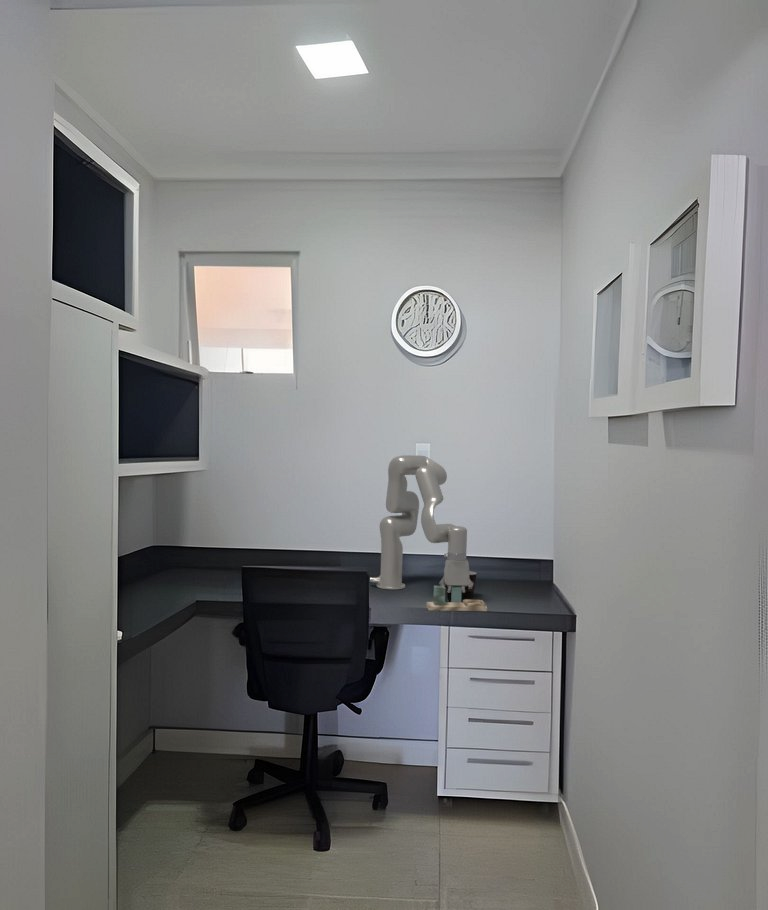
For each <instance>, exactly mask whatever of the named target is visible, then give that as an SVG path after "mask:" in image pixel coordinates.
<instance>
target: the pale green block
mask: <svg viewBox="0 0 768 910" xmlns="http://www.w3.org/2000/svg"><path fill="white" fill-rule="evenodd" d="M461 593H462V587H461V586H451V602H461Z"/></svg>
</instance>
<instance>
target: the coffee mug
mask: <svg viewBox="0 0 768 910" xmlns="http://www.w3.org/2000/svg"><path fill="white" fill-rule="evenodd" d="M469 578H470V580H471V582H472V583H473V586H472V587H470V588H468V589H467V590H466V591H465V593H464V599H472V598H474V594H475V593H474V592H475V587H476V579H477V572H475V571H471V570H469Z"/></svg>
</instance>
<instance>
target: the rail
mask: <svg viewBox="0 0 768 910" xmlns="http://www.w3.org/2000/svg"><path fill="white" fill-rule="evenodd" d="M425 603H426V604H425V605H426V608H427V609H428V611H448V612H449V611H450V612H451V611H454V612H458V611H459V612H460V611H461V612H488V607H487V604H486V603H485V601H484V600H483V599H464V600H463V603H461V602H449V601H448V602H447V589H446V587H444V586H440V585H433V599H432V601H426V602H425Z"/></svg>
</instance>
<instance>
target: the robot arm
mask: <svg viewBox="0 0 768 910" xmlns="http://www.w3.org/2000/svg"><path fill="white" fill-rule="evenodd" d="M387 475H388V481H387V489H386V490H387V491H386V498H385V508H386V511H387V512H388V513H391V514H396V515H388V516H385V517H383V518H382V519H381V521H380V523H379V534H380V540H381V541H380V543H381V544H380V545H381V547H380V549H381V550H380V552H381V553H380V575H379V576H376V577H373V576H372V577H369V582H370V583H371V582H372V583H376V587H377V588H379V589H383V590H402V589H405V588H406V584H405V583H402V582H403V558H404V557H403V556H404V555H403V551H404V549H403V548H404V547H403V543H402V541H401V539H400V537H409V536H411V535H414V533H415V532H416V530H417V526H418V519H419V513H420V512H419V511H420V500H419V497H418V495H417V494H416V493H415V492H414V491H410V490H408V480H407V477H406V476H415V480H416V482H417V487H418V488H419V492H420V496H421V498H422V499H421V500H423V501H422V502H423V508H422V510H421V516H420V523H421V528H422V530H423V534H424V536H425V538H426V539H427V541H428V542H429V543H431V544H441V543H442V544H443V543H447V553H444V554H443V556H444V558H446V559H445V561H444V563H445V564H444V569H443V577H442V578H441V579H440V580H439V582H438V586H444V587H446V589H447V593H446V601H448V602H451V586H461V587H462V593H461V603H463V600H465V598H464V593H465V591H466V590H467V589H468V588H470V587H472V586H473V583H472V582H471V580H470V578H469V571H470V566H469V565H470V564H469V561H468V559H467V546H468V543H467V541H468V529H467V528H466V527H464V526H460V525H454V524H452V523H443V524H442V523H440V524H439V523H436V520H435V516H434V512H435V508H437V506H438V505H440V504H441V503H443V501H444V495H443V492H442V489H441V485H443V484H445V483H446V481H447V479H448V478H447V477H448V475H447V472H446V469H445V468H444V467H443V466H442V465H440V463H438V462H436V461H434V460H433V459H431V458H430V457H428V456H425V455H410V454H409V455H406V454H405V455H404V454H403V455H398V456H395V457H393V458H392V459H391V460H390V462H389V464H388V468H387ZM397 514H398V515H397ZM400 514H401V515H400Z"/></svg>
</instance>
